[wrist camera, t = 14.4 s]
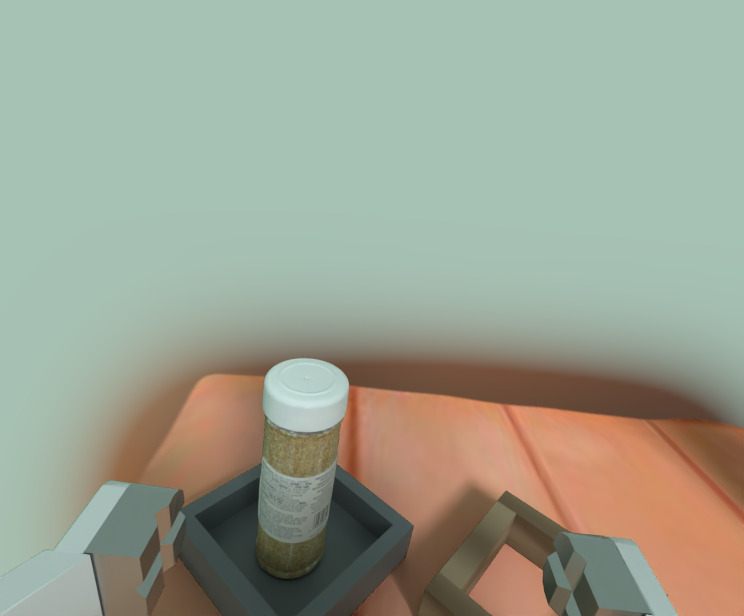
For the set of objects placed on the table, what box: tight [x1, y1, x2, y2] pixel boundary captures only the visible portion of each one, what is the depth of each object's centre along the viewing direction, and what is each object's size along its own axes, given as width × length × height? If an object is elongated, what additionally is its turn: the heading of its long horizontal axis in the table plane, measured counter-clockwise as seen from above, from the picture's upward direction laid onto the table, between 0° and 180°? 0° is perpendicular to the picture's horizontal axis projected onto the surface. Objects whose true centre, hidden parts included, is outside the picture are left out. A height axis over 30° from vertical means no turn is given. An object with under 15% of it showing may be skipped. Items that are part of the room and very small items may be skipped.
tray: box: [178, 463, 414, 616], centre depth 29 cm, size 11×11×3 cm
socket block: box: [417, 491, 668, 616], centre depth 27 cm, size 11×11×3 cm
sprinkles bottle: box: [255, 358, 349, 579], centre depth 26 cm, size 5×5×14 cm
